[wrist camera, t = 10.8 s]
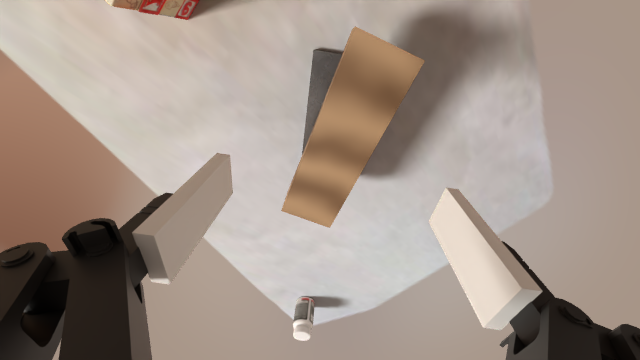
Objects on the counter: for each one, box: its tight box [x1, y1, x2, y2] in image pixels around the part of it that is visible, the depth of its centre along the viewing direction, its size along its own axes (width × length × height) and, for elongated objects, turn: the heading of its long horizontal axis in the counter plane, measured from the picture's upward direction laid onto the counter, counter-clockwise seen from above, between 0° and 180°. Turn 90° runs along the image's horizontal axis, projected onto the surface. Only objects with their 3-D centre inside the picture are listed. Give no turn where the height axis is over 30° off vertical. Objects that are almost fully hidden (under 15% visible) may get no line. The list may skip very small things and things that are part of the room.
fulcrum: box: [302, 50, 342, 155], centre depth 33 cm, size 18×10×7 cm, turn 172°
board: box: [281, 27, 425, 228], centre depth 28 cm, size 22×7×4 cm, turn 158°
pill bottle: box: [293, 297, 314, 341], centre depth 56 cm, size 5×5×8 cm
